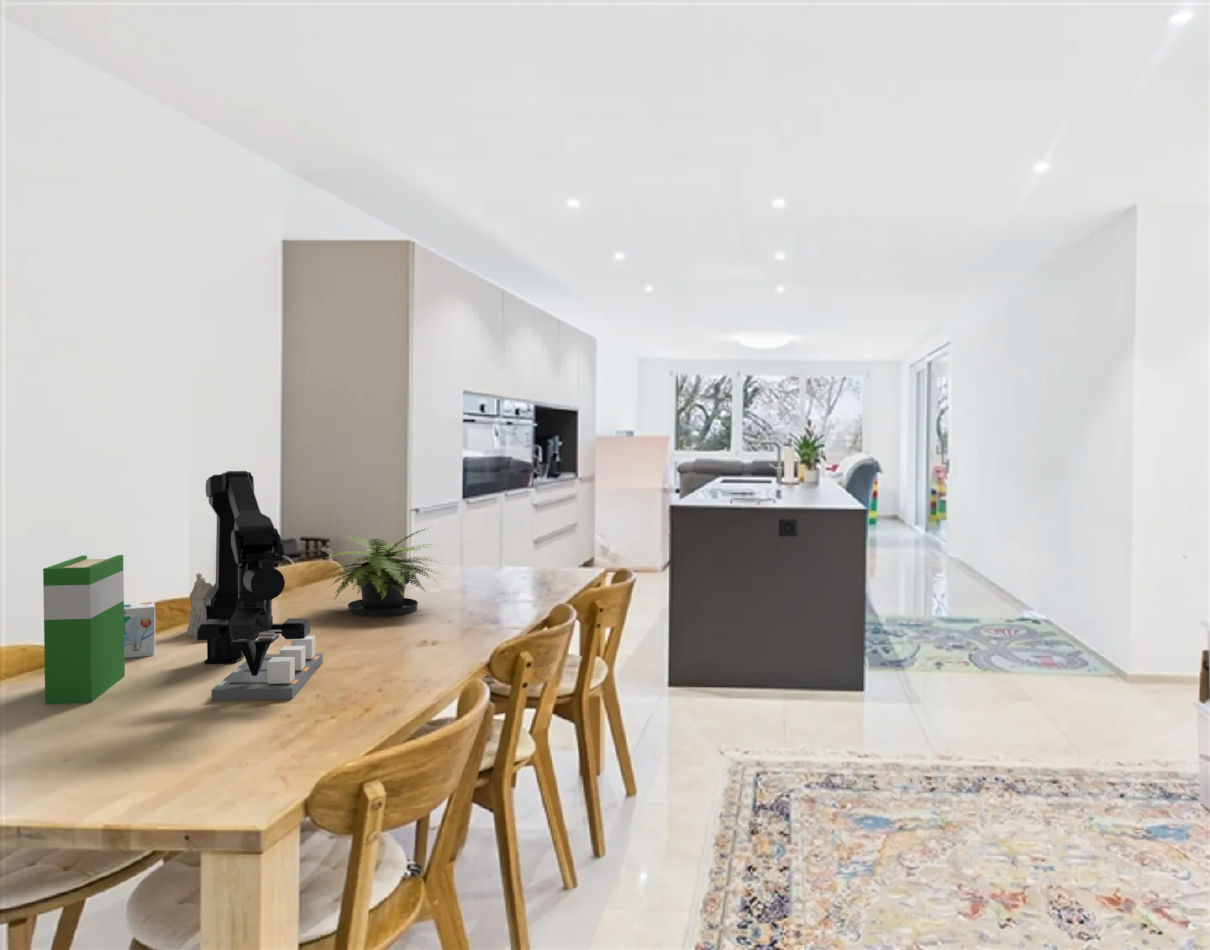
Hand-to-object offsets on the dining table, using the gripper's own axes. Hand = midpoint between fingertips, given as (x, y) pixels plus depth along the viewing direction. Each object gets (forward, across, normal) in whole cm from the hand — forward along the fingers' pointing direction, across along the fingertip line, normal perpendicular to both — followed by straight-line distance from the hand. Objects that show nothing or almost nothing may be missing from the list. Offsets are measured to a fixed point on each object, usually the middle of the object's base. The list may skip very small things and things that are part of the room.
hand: (255, 675), depth 161 cm
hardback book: (+4, -32, +5) cm, 32 cm away
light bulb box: (+4, -35, +32) cm, 48 cm away
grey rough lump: (+4, -22, +55) cm, 60 cm away
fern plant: (+4, +13, +79) cm, 80 cm away
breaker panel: (+3, +1, +9) cm, 9 cm away
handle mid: (+1, +5, +9) cm, 10 cm away
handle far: (+1, +5, +18) cm, 18 cm away
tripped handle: (+1, +5, 0) cm, 5 cm away
